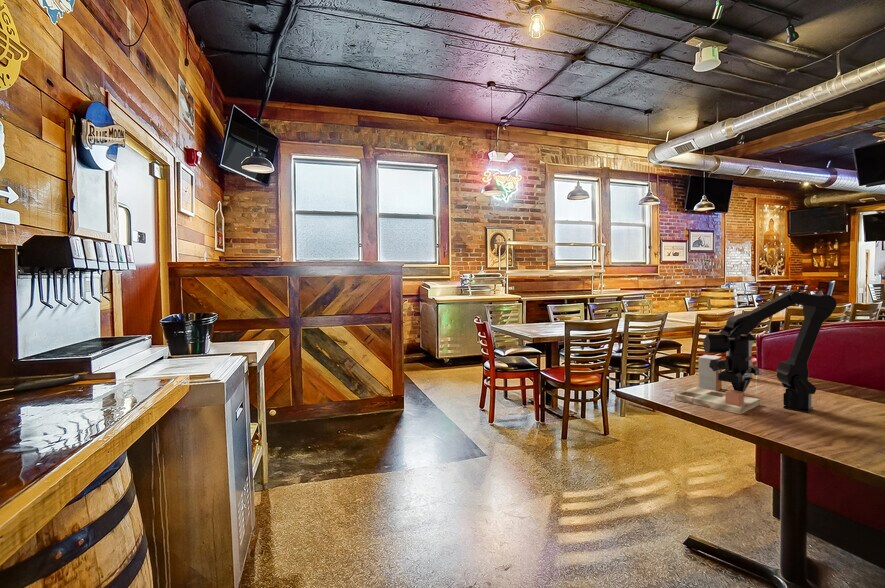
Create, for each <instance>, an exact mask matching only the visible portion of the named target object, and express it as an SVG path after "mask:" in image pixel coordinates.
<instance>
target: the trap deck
mask: <svg viewBox="0 0 885 588" xmlns="http://www.w3.org/2000/svg"><path fill="white" fill-rule="evenodd" d="M760 400H761V399H760V398H755V397H750V396H745V395H744V404H742V405H740V406H737V405H732V404H727V403H725V392H723V391H720V390H718V391H714V390H708V389H703V388H698V387H696V386H694V387H692V388H689V389H686V390H684V391H681V392H678V393H675V394H674V401H677V402H678V401H679V402H683V403H688V404H690V405H691V404H692V405H697V406H701V407H704V408H705V407H706V408H710V409H715V410H719V411H722V412H724V411H725V412H729V413H733V414H738V415H742V414H744V413H746V412H748V411H750V410H752V409H754V408H756V407H759V406H760V405H761V401H760Z"/></svg>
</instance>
